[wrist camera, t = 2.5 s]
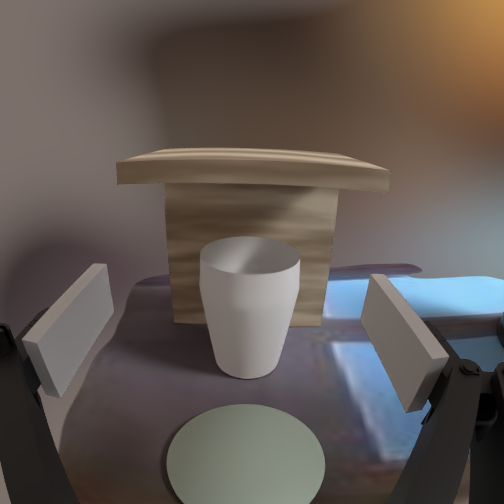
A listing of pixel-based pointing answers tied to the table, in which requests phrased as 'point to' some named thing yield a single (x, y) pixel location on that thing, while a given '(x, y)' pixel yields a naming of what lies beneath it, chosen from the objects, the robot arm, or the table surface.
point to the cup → (248, 301)
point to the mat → (245, 458)
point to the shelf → (250, 211)
